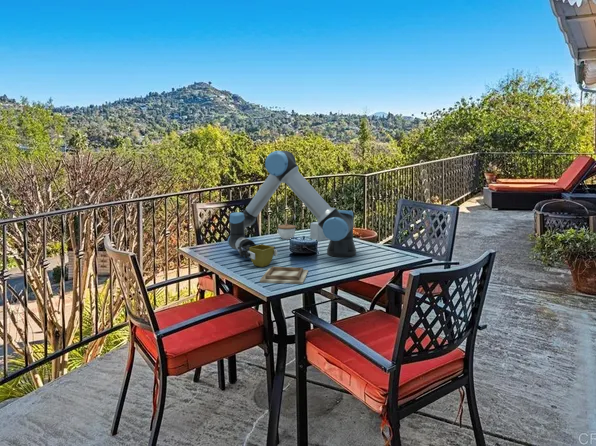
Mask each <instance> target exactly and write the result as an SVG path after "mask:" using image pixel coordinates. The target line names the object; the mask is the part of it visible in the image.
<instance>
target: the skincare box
mask: <svg viewBox="0 0 596 446" xmlns="http://www.w3.org/2000/svg"><path fill="white" fill-rule="evenodd" d="M309 230H310V231H309V239H310V238H312V239H316V240H318V241H317V242H320V241H321V242H322V241H324V240H329V239H328V238H327V237H326V236H325V235H324V233H323V229H322V228H321V227H320V226H319V225H318V221H313V222H310V228H309Z"/></svg>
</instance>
